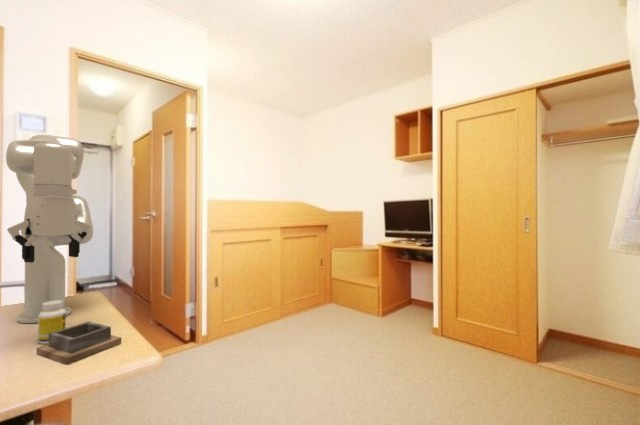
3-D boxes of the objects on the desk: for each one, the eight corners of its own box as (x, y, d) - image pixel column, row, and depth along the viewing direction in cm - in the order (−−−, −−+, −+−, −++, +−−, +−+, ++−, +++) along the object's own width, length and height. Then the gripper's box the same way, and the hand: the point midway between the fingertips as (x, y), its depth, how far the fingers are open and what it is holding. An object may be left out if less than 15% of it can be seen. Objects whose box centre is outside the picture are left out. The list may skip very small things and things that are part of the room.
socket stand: (36, 354, 73) (36, 335, 73) (91, 335, 84) (91, 318, 84) (67, 365, 68) (67, 344, 68) (121, 343, 79) (121, 325, 79)
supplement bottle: (67, 339, 81) (67, 302, 81) (39, 346, 77) (39, 306, 77) (63, 334, 84) (63, 298, 84) (36, 340, 80) (36, 302, 80)
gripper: (80, 194, 90) (80, 254, 90) (0, 190, 74) (0, 263, 74) (97, 194, 87) (97, 255, 87) (17, 190, 71) (17, 265, 71)
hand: (52, 259), depth 80 cm, fingers open, 9 cm apart
